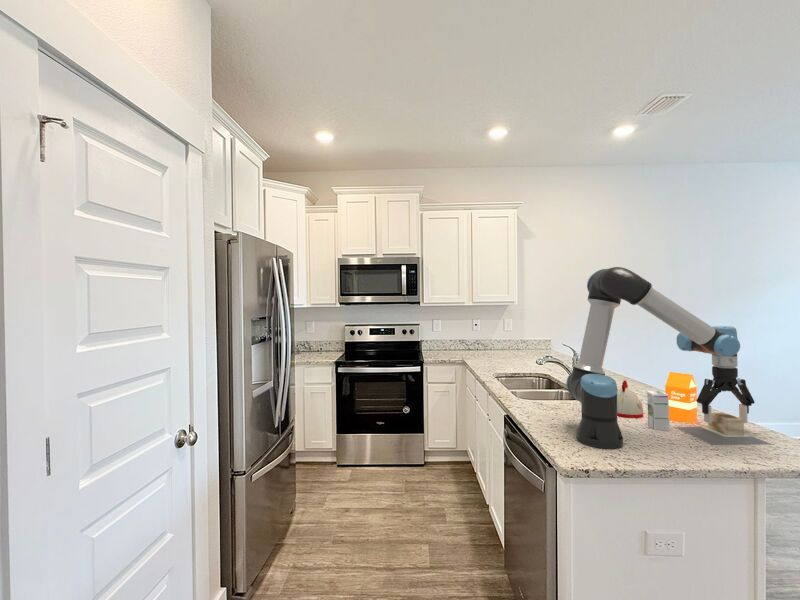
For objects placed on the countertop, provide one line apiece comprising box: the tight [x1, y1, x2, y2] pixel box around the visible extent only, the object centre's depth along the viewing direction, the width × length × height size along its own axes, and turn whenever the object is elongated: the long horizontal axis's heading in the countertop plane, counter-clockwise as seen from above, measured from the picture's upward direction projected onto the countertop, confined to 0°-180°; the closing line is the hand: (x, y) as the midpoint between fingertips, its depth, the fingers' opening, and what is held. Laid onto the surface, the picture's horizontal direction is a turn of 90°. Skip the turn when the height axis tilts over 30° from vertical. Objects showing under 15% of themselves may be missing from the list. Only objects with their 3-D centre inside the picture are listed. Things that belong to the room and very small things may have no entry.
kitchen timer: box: [617, 379, 644, 419], centre depth 174 cm, size 14×14×15 cm
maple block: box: [707, 412, 745, 436], centre depth 147 cm, size 9×6×6 cm, turn 0°
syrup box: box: [646, 390, 671, 431], centre depth 153 cm, size 6×6×14 cm
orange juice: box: [664, 371, 698, 424], centre depth 164 cm, size 8×9×20 cm
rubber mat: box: [673, 426, 772, 446], centre depth 144 cm, size 21×19×1 cm
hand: (725, 422), depth 147 cm, fingers open, 13 cm apart
